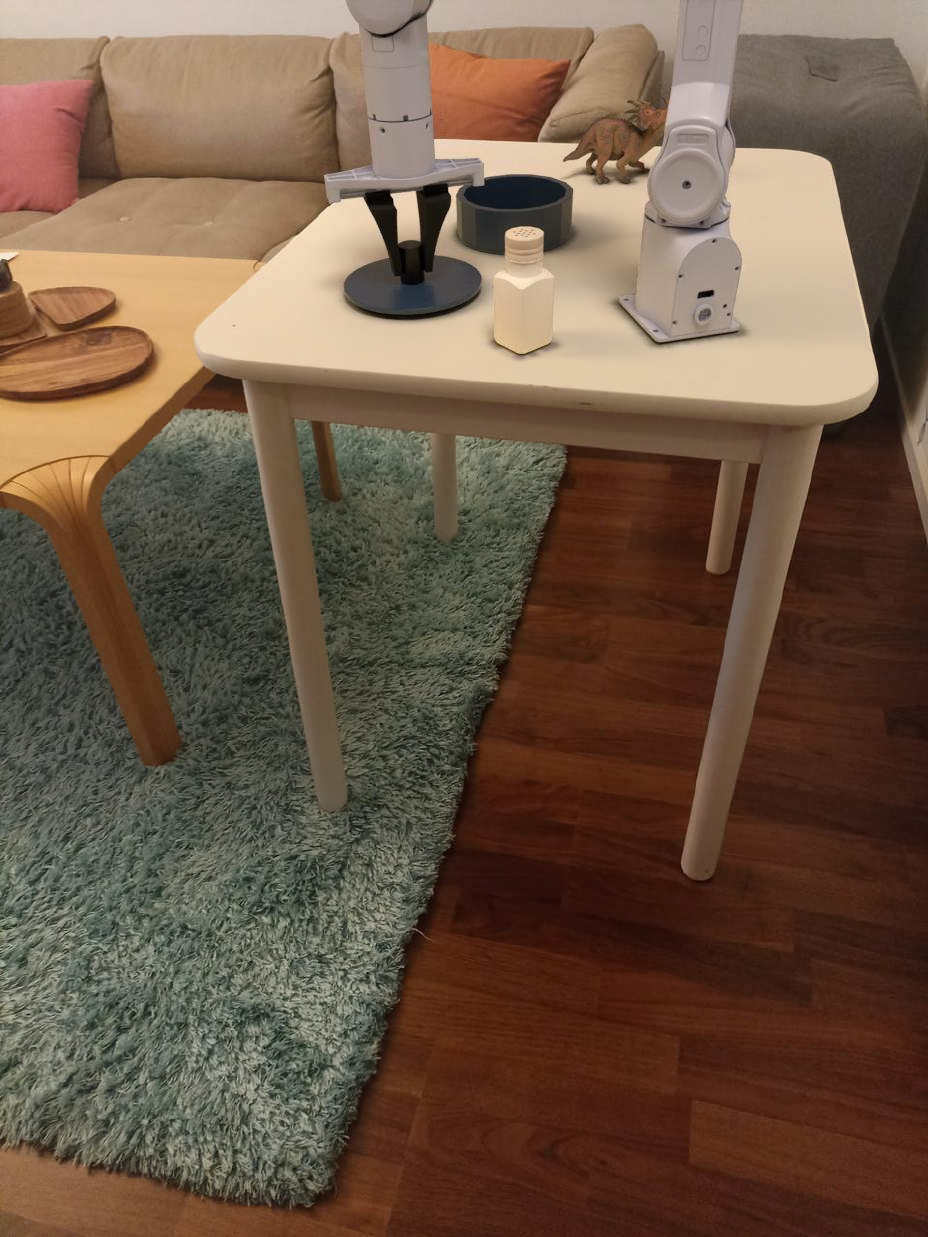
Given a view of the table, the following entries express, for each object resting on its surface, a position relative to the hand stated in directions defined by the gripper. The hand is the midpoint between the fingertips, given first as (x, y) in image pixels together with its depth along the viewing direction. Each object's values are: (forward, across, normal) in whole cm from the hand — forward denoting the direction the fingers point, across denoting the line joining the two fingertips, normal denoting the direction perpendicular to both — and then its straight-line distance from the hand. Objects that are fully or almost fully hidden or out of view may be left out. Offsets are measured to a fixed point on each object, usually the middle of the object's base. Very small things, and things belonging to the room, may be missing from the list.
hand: (412, 270), depth 84 cm
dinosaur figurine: (+2, -32, -27) cm, 42 cm away
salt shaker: (+2, -7, +14) cm, 16 cm away
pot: (+2, -14, -12) cm, 19 cm away
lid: (+2, 0, 0) cm, 2 cm away
